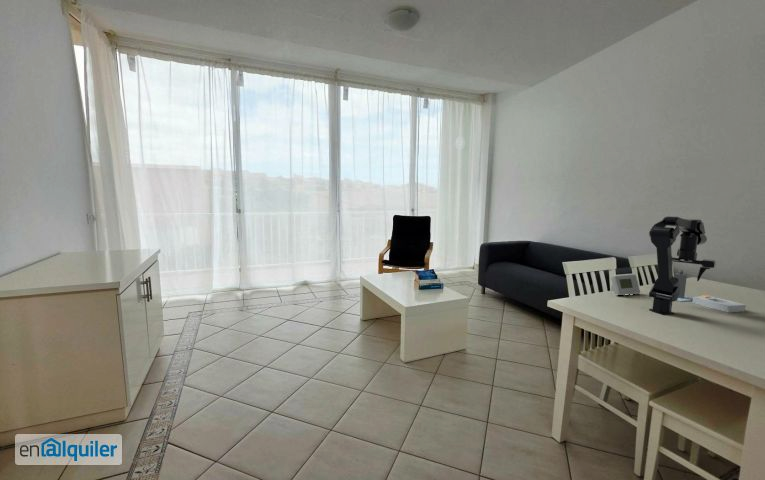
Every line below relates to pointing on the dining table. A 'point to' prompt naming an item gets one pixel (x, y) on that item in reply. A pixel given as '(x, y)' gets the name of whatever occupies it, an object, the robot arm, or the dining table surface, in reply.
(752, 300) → the dining table surface
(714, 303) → the white flat block
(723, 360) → the dining table surface
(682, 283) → the plug
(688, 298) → the pad
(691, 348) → the dining table surface
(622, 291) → the digital clock
